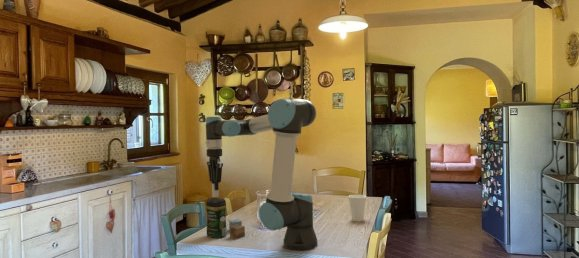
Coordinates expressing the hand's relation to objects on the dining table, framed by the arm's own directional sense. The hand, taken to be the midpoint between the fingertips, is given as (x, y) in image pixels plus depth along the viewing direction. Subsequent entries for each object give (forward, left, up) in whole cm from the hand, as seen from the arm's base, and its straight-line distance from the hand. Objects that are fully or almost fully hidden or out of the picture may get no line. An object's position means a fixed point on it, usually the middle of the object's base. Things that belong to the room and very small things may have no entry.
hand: (215, 196), depth 194 cm
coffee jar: (0, 0, -20) cm, 20 cm away
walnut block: (-8, -7, -19) cm, 22 cm away
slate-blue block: (+3, -12, -19) cm, 23 cm away
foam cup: (-24, -73, -20) cm, 79 cm away
